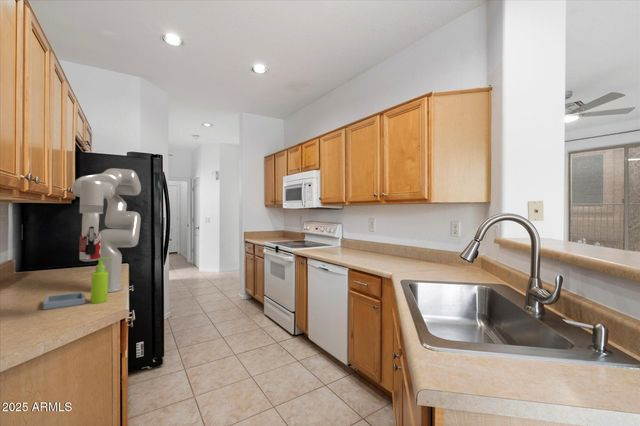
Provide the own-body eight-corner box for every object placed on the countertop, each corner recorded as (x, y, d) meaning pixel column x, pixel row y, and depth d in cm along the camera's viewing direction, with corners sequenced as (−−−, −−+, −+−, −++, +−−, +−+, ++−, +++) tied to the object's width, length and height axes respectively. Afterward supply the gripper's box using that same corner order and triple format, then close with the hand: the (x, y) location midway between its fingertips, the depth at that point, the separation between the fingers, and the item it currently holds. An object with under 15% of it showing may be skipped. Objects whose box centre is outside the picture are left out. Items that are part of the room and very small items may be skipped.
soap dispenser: (109, 302, 127) (111, 258, 127) (89, 304, 124) (91, 259, 124) (110, 298, 132) (112, 256, 132) (91, 300, 128) (93, 257, 129)
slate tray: (45, 302, 124) (45, 296, 124) (83, 297, 133) (84, 291, 133) (43, 310, 115) (43, 304, 115) (84, 304, 123) (85, 298, 123)
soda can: (88, 262, 112) (89, 232, 112) (74, 261, 114) (75, 231, 114) (104, 259, 119) (105, 231, 119) (91, 258, 120) (92, 230, 120)
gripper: (79, 209, 120) (77, 251, 120) (80, 210, 107) (78, 257, 107) (101, 209, 125) (99, 249, 125) (104, 210, 112) (103, 255, 112)
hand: (89, 252), depth 116 cm, fingers closed on soda can, 6 cm apart
